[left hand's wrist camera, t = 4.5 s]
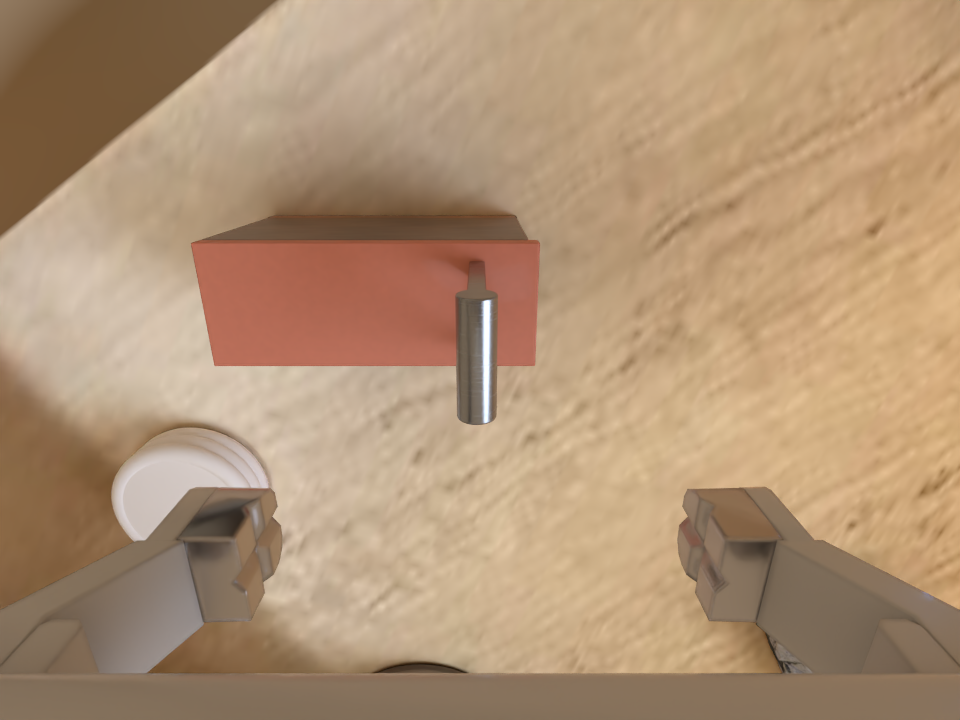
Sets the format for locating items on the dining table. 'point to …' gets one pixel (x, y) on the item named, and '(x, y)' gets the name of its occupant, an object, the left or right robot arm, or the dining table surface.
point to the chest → (379, 228)
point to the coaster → (178, 475)
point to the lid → (375, 306)
